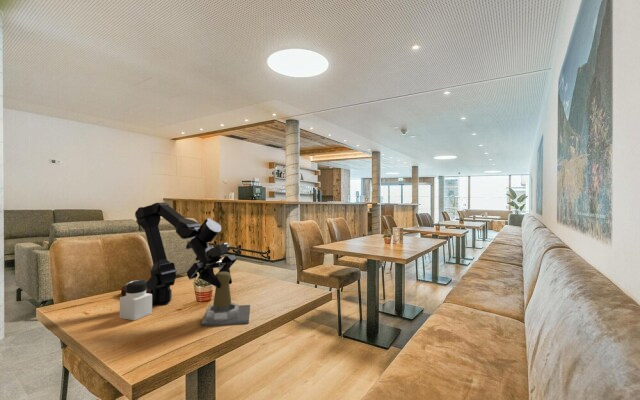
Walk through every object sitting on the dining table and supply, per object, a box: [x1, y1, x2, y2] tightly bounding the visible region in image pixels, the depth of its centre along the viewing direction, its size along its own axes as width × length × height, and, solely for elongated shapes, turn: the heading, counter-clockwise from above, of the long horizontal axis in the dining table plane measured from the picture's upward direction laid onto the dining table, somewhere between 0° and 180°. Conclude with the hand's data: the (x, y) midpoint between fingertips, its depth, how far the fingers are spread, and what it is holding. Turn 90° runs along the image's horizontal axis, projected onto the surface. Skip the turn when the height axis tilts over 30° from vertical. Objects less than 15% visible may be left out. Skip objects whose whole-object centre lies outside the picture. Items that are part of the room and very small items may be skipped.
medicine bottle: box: [119, 279, 153, 322], centre depth 106 cm, size 7×7×12 cm
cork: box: [212, 271, 232, 307], centre depth 105 cm, size 6×6×11 cm
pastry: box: [120, 279, 151, 297], centre depth 131 cm, size 11×12×6 cm
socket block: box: [200, 301, 251, 327], centre depth 106 cm, size 15×15×4 cm
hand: (225, 285), depth 104 cm, fingers closed on cork, 5 cm apart
